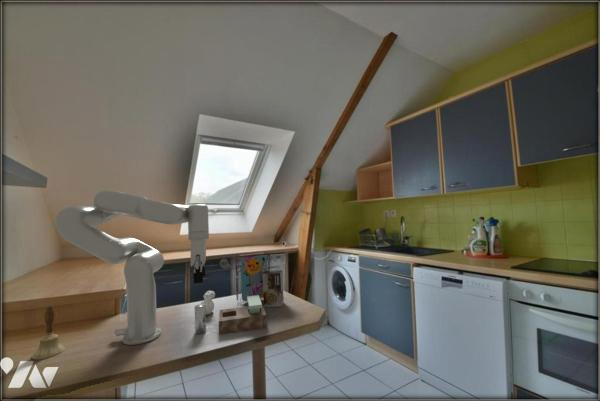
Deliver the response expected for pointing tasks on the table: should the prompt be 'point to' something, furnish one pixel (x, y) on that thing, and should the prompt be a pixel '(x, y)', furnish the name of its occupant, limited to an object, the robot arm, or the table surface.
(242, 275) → the box
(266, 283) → the coffee box
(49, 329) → the hand bell
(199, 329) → the peg
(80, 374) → the table surface
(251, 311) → the button
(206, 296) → the bust
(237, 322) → the socket block
